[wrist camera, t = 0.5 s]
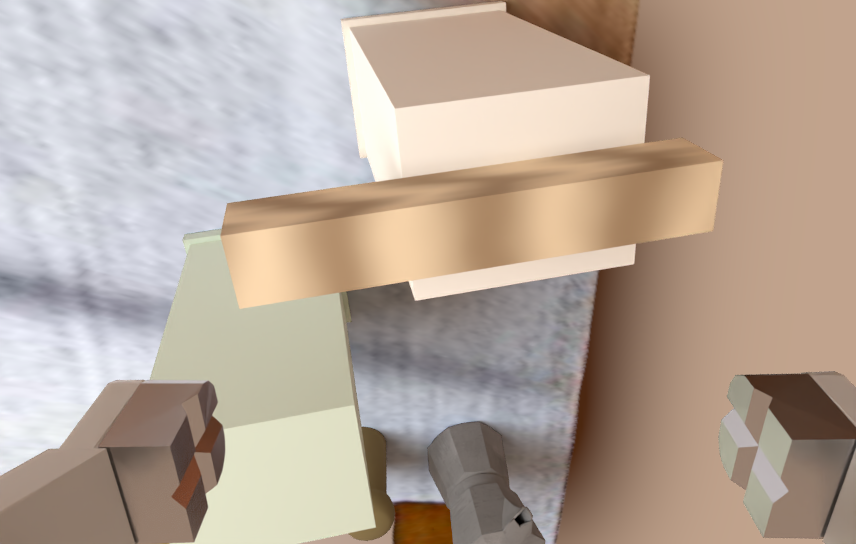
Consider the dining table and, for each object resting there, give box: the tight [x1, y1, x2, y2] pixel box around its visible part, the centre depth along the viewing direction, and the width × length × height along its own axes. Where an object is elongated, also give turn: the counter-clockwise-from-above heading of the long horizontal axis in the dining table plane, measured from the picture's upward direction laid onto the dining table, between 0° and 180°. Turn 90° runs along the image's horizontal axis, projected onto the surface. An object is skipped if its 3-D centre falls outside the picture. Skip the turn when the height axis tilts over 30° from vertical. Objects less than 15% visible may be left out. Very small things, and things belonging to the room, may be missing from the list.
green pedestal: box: [150, 229, 376, 544], centre depth 49 cm, size 13×11×26 cm
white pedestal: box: [341, 1, 650, 301], centre depth 43 cm, size 13×11×26 cm
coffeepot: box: [427, 422, 545, 544], centre depth 68 cm, size 15×9×18 cm, turn 161°
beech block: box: [220, 138, 723, 309], centre depth 30 cm, size 22×4×4 cm, turn 95°
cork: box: [348, 427, 395, 541], centre depth 67 cm, size 6×6×11 cm
